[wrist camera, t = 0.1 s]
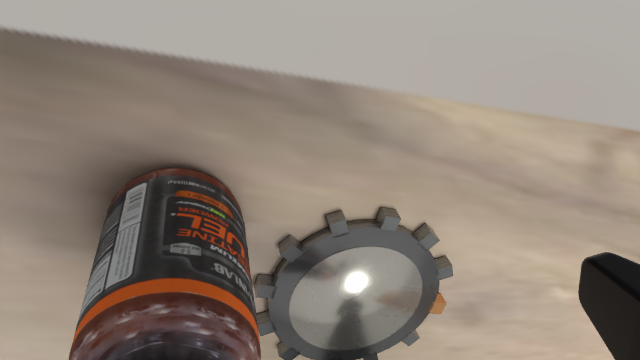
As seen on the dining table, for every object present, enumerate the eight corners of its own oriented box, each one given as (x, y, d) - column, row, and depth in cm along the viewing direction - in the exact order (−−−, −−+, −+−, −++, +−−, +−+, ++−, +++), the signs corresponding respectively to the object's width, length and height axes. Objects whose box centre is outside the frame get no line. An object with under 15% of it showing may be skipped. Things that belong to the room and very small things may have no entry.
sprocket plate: (452, 326, 31) (459, 337, 30) (281, 381, 31) (283, 394, 30) (438, 181, 25) (445, 190, 25) (226, 244, 25) (227, 256, 24)
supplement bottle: (268, 202, 24) (318, 420, 15) (196, 287, 26) (198, 533, 16) (152, 136, 21) (120, 353, 12) (79, 237, 23) (0, 498, 13)
